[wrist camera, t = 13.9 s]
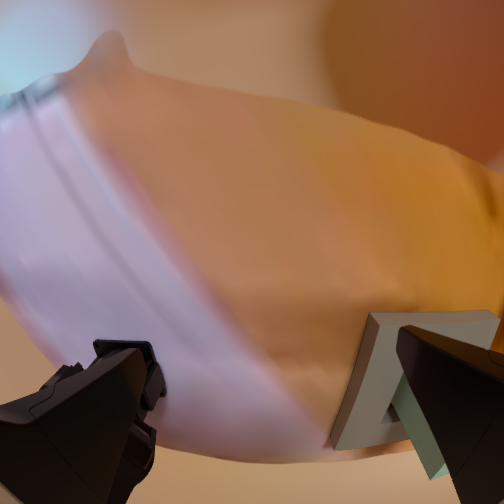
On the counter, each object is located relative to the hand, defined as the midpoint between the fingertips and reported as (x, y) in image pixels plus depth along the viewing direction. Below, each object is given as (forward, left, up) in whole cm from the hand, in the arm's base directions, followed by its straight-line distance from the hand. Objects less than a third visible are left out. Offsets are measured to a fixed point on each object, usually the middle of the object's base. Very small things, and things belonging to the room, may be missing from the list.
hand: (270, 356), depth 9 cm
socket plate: (+15, -15, -13) cm, 25 cm away
